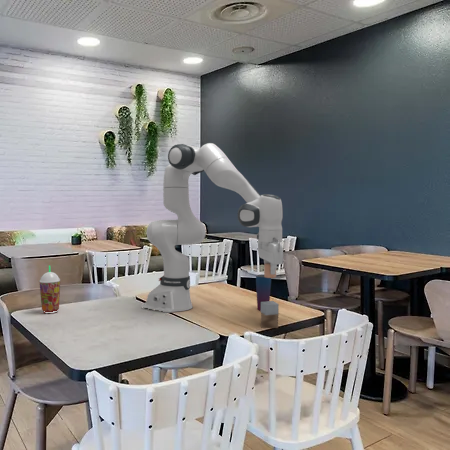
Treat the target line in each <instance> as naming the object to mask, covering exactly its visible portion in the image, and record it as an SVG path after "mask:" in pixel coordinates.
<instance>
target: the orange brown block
mask: <svg viewBox="0 0 450 450" xmlns="http://www.w3.org/2000/svg"><path fill="white" fill-rule="evenodd" d="M263 266H264V269H263V274H264V277H265V278H271V279H275V278H277V269H276V270H275V274H270V269H271V265H270V263H265V264H264V265H263Z"/></svg>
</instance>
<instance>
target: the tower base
mask: <svg viewBox="0 0 450 450" xmlns="http://www.w3.org/2000/svg"><path fill="white" fill-rule="evenodd" d="M260 328H263V329H266V328H267V329H279V313H278V314H276V315H265V314H263V313H261V312H260Z"/></svg>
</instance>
